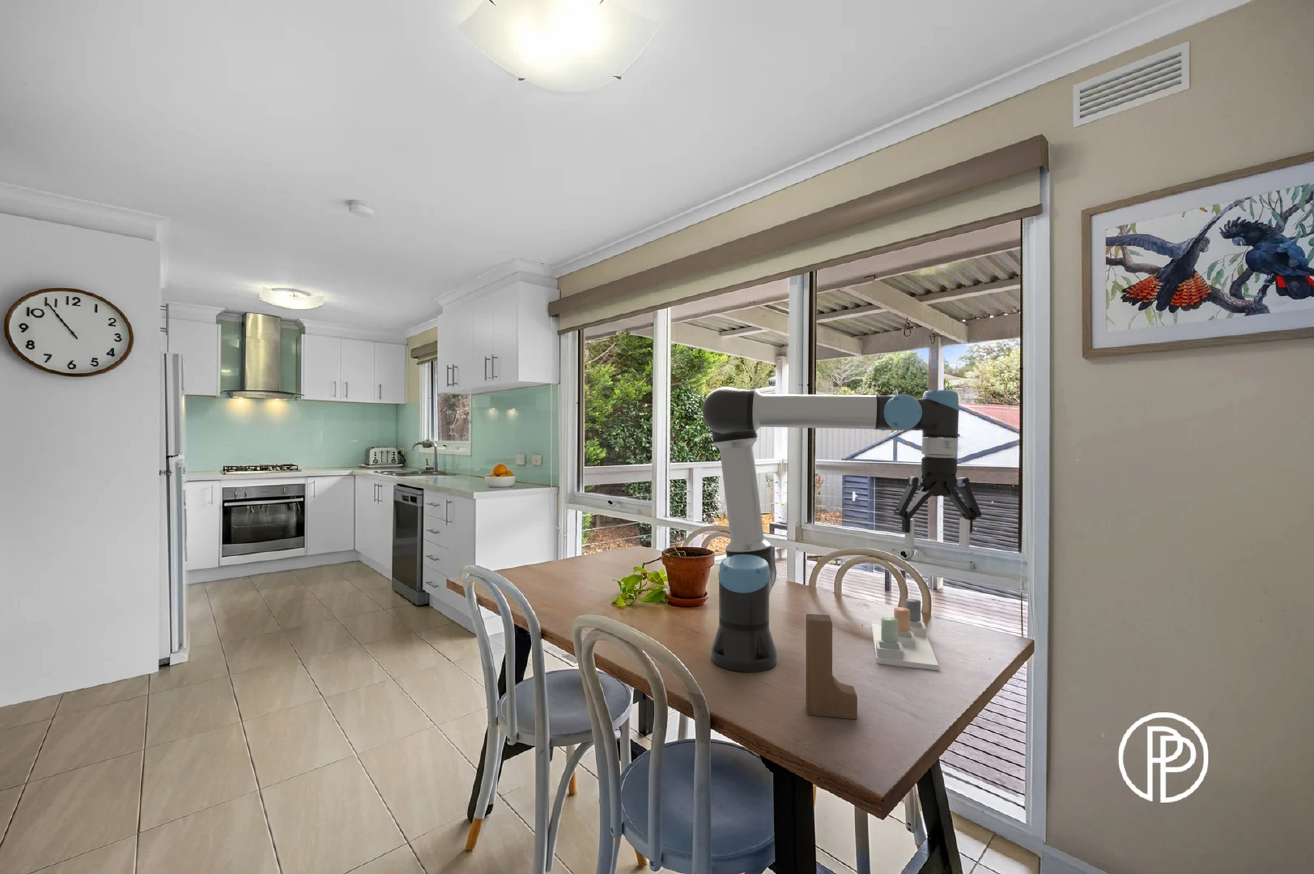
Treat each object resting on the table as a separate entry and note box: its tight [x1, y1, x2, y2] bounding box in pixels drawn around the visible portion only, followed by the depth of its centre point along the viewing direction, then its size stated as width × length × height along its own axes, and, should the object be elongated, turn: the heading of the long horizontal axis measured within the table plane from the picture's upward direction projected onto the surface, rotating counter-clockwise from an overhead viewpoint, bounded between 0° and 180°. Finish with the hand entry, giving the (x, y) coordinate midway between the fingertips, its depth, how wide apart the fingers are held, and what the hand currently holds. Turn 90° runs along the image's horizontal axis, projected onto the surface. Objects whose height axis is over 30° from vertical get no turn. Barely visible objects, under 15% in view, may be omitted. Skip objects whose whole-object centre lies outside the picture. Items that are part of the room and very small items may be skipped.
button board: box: [871, 621, 940, 671], centre depth 142 cm, size 13×25×3 cm, turn 162°
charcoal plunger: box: [905, 598, 922, 622], centre depth 149 cm, size 4×4×5 cm
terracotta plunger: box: [893, 606, 910, 632], centre depth 142 cm, size 4×4×5 cm
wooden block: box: [805, 613, 858, 720], centre depth 109 cm, size 9×4×18 cm, turn 80°
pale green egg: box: [880, 616, 898, 643], centre depth 134 cm, size 4×4×5 cm
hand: (936, 546), depth 134 cm, fingers open, 13 cm apart
